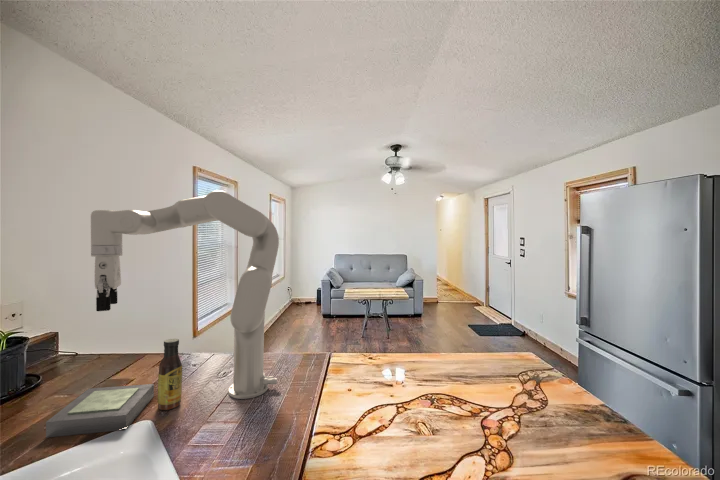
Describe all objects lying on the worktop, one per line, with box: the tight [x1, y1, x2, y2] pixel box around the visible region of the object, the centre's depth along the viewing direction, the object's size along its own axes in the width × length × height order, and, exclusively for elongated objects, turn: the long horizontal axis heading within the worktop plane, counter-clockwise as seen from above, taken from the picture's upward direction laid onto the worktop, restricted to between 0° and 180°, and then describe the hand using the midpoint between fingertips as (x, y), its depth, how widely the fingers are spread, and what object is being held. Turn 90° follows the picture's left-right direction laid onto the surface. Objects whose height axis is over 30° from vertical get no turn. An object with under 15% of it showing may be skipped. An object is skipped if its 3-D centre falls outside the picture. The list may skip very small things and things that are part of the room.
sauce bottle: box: [156, 338, 183, 411], centre depth 98 cm, size 7×6×20 cm
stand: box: [45, 383, 155, 438], centre depth 93 cm, size 18×18×4 cm
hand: (107, 307), depth 99 cm, fingers open, 9 cm apart
